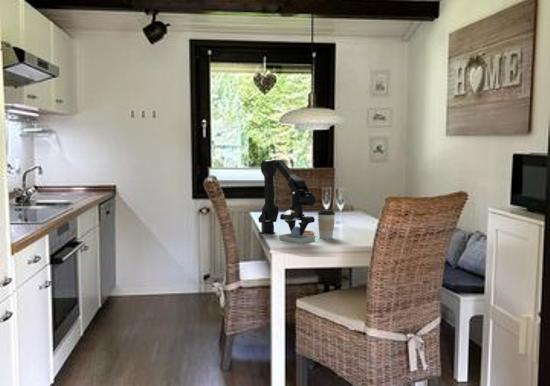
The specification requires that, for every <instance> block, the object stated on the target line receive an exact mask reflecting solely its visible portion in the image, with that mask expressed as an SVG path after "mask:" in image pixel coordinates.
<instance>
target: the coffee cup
mask: <svg viewBox="0 0 550 386" xmlns="http://www.w3.org/2000/svg"><path fill="white" fill-rule="evenodd" d="M317 217H318V218H317V221H318V223H317V225H318V235H319V239H322V240H331V239H333V236H334V230H335V229H334V228H335V217H336V213H335V211H334V210H333V209H329V208H323V209H322V208H320V209H319V211H317Z"/></svg>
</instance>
